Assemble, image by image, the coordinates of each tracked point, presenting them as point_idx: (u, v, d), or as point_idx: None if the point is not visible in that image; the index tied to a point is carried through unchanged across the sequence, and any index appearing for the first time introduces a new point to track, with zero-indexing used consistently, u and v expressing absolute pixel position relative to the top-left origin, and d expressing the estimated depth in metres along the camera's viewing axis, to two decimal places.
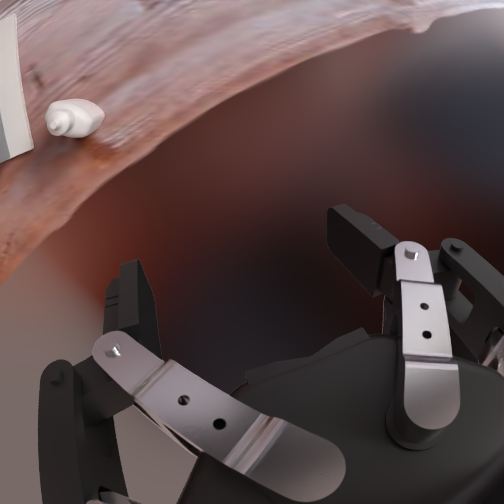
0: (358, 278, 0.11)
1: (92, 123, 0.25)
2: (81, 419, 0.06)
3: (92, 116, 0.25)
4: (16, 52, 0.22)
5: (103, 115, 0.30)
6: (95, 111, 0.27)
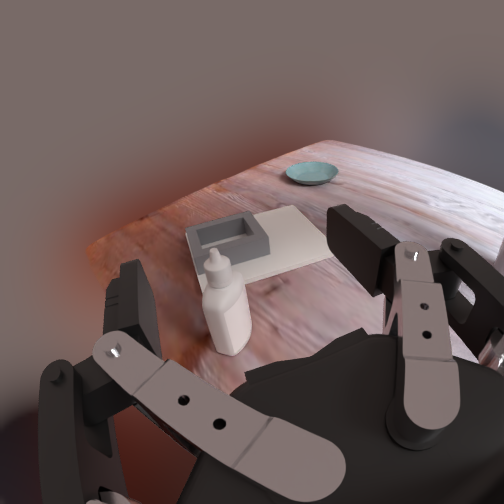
0: (358, 278, 0.11)
1: (216, 313, 0.27)
2: (81, 419, 0.06)
3: (225, 314, 0.27)
4: (300, 263, 0.41)
5: (231, 350, 0.30)
6: (233, 330, 0.29)
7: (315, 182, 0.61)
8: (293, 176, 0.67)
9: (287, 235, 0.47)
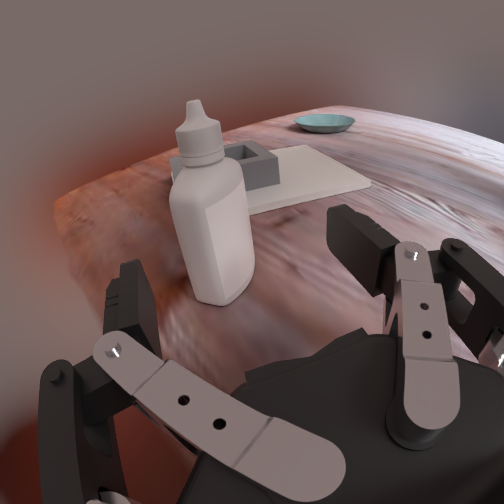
0: (358, 278, 0.11)
1: (192, 207, 0.15)
2: (81, 419, 0.06)
3: (208, 212, 0.15)
4: (322, 192, 0.29)
5: (219, 292, 0.18)
6: (223, 251, 0.17)
7: (330, 128, 0.49)
8: None
9: (301, 167, 0.35)
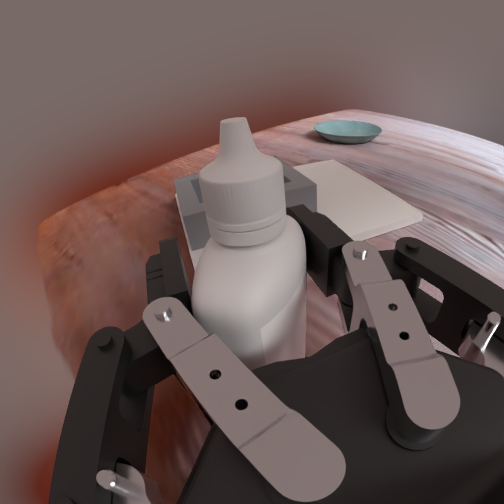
0: (313, 278, 0.12)
1: (238, 328, 0.08)
2: (119, 389, 0.06)
3: (264, 331, 0.09)
4: (371, 232, 0.23)
5: None
6: None
7: (356, 138, 0.43)
8: None
9: (337, 192, 0.29)
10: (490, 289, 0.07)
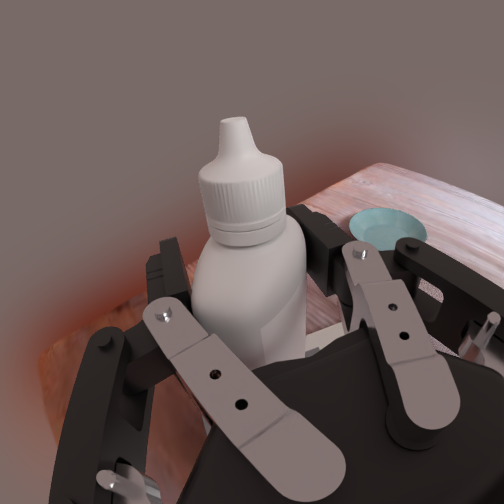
0: (313, 278, 0.12)
1: (238, 328, 0.08)
2: (120, 389, 0.06)
3: (264, 331, 0.09)
4: None
5: None
6: None
7: None
8: (359, 234, 0.42)
9: None
10: (490, 289, 0.07)
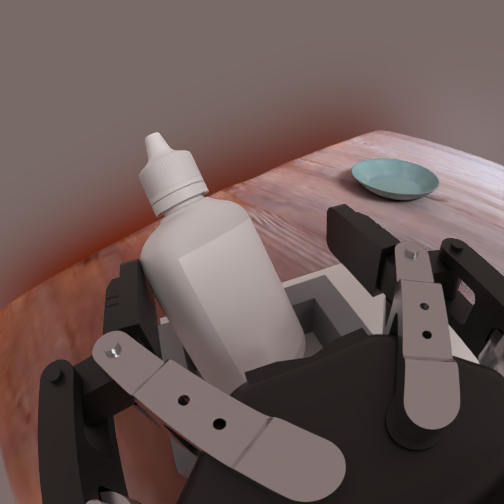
0: (358, 278, 0.11)
1: (162, 261, 0.10)
2: (81, 419, 0.06)
3: (185, 263, 0.10)
4: None
5: None
6: (230, 323, 0.11)
7: (412, 196, 0.31)
8: (363, 182, 0.36)
9: None
10: None
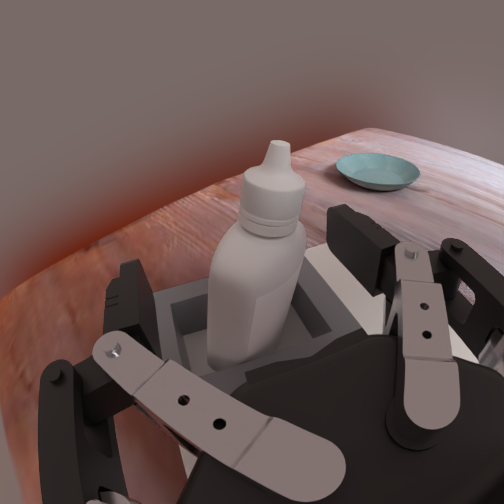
0: (358, 278, 0.11)
1: (241, 293, 0.11)
2: (81, 419, 0.06)
3: (258, 301, 0.12)
4: None
5: None
6: (259, 337, 0.13)
7: (392, 187, 0.33)
8: (347, 175, 0.39)
9: None
10: None
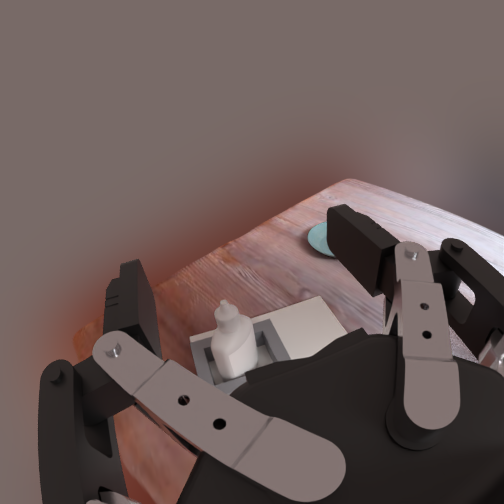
0: (358, 278, 0.11)
1: (222, 354, 0.30)
2: (81, 419, 0.06)
3: (230, 356, 0.30)
4: None
5: None
6: (237, 368, 0.31)
7: None
8: (316, 242, 0.56)
9: (316, 350, 0.37)
10: None
